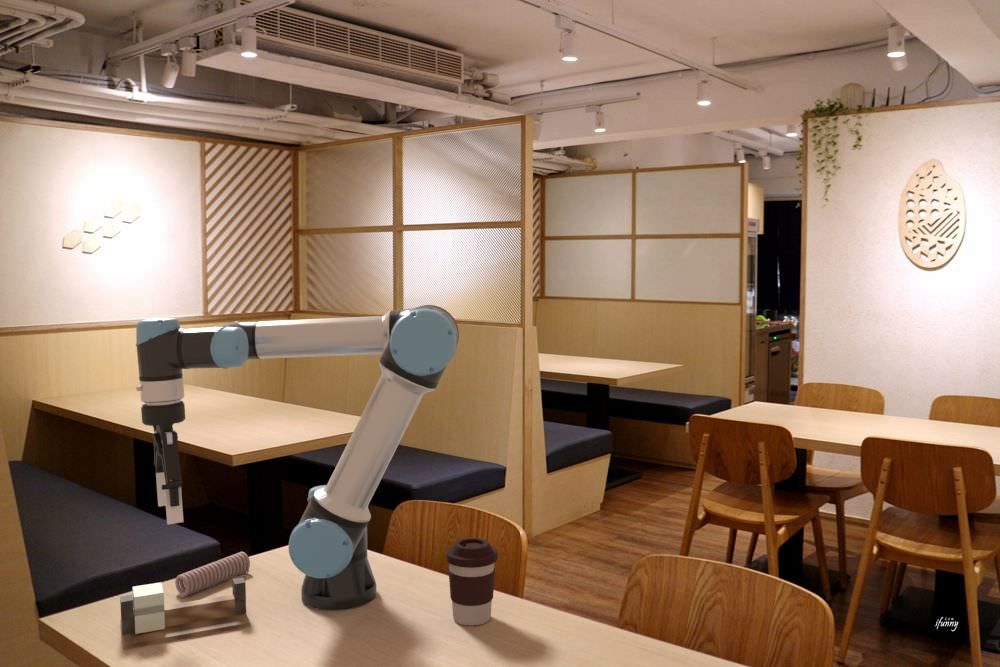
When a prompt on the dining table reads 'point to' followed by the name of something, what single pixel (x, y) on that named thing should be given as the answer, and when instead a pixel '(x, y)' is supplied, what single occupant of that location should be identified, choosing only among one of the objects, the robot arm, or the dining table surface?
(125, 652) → the dining table surface
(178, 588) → the coil
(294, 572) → the dining table surface
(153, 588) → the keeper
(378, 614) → the dining table surface
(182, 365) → the robot arm
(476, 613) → the coffee cup
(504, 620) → the dining table surface
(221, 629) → the track
